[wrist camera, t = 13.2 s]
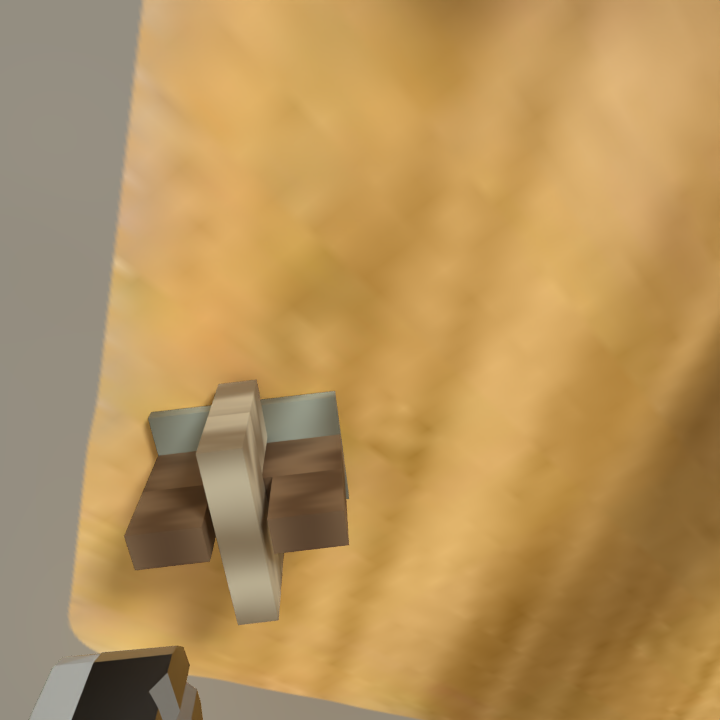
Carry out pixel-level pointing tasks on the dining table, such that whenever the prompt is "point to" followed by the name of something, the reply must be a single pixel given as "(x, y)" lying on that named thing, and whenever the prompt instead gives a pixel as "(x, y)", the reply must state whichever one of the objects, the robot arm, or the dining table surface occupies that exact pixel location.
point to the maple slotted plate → (241, 500)
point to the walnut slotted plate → (280, 475)
